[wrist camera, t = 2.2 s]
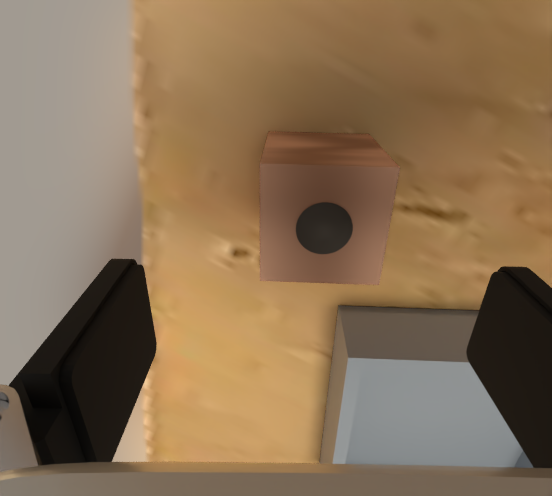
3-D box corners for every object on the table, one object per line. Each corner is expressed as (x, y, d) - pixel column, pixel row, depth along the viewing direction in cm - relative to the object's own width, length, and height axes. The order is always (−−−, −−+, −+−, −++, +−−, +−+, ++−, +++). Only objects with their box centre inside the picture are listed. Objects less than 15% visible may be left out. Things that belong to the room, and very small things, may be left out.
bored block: (368, 133, 19) (400, 167, 13) (356, 225, 21) (379, 285, 16) (268, 131, 19) (259, 163, 13) (267, 222, 21) (259, 281, 16)
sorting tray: (597, 314, 23) (661, 370, 19) (514, 470, 31) (548, 533, 27) (338, 305, 23) (348, 357, 19) (319, 461, 31) (323, 522, 27)
